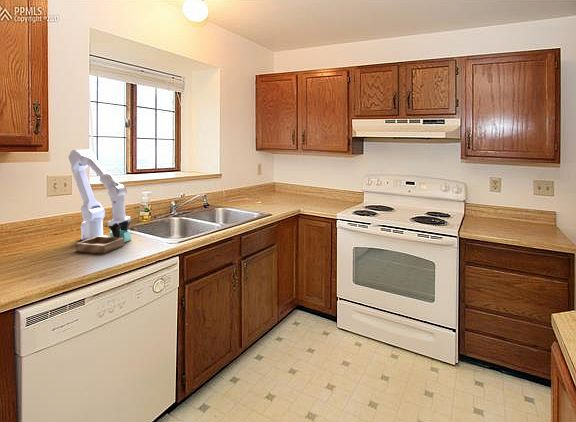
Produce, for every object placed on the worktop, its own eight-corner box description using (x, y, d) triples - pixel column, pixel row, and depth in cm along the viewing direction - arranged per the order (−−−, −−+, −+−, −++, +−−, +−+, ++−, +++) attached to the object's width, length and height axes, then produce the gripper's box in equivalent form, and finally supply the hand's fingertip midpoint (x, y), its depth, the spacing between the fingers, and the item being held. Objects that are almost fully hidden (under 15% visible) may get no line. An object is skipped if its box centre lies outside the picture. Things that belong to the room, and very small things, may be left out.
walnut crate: (76, 251, 169) (75, 243, 169) (98, 243, 183) (97, 235, 182) (104, 253, 166) (103, 245, 166) (124, 245, 180) (123, 237, 179)
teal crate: (110, 241, 187) (109, 232, 186) (116, 238, 191) (116, 230, 191) (124, 242, 185) (124, 233, 184) (131, 239, 190) (130, 231, 189)
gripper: (116, 213, 178) (118, 241, 180) (135, 208, 192) (136, 234, 194) (103, 212, 179) (105, 240, 182) (122, 207, 193) (124, 233, 195)
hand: (120, 237), depth 188 cm, fingers closed on teal crate, 5 cm apart
